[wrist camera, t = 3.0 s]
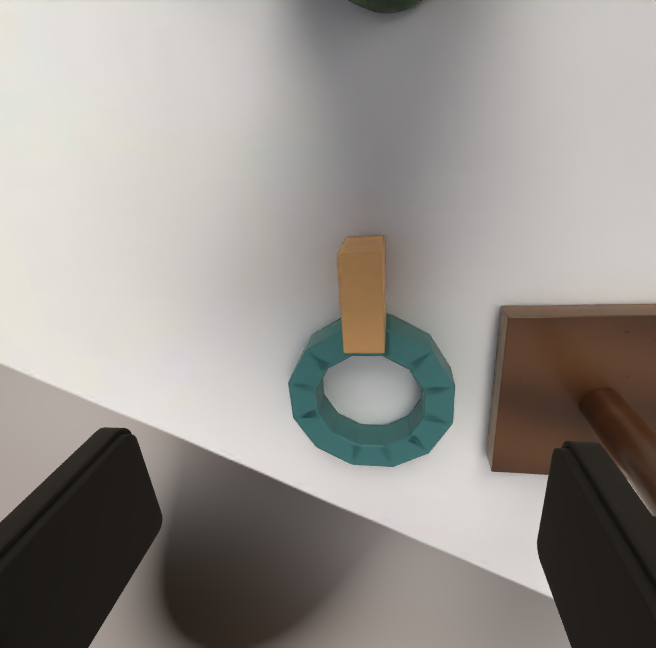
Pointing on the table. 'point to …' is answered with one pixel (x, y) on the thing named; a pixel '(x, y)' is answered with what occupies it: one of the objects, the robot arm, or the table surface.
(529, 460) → the peg stand
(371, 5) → the coffee jar
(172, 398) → the table surface
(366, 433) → the ring
